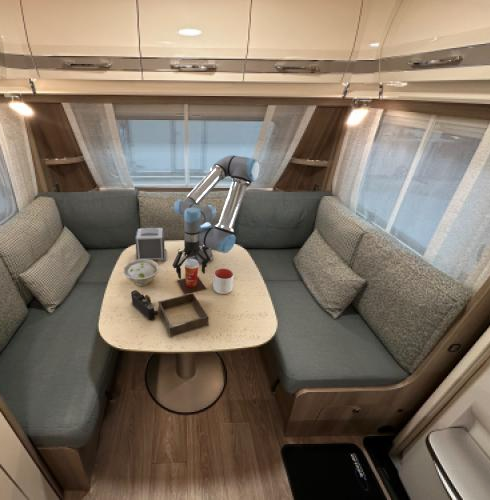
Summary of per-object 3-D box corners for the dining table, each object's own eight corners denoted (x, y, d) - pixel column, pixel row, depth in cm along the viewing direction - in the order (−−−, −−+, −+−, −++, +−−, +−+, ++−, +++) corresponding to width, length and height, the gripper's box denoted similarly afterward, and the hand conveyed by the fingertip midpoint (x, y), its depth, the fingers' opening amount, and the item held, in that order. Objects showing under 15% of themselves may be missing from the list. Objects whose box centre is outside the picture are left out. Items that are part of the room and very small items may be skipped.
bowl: (167, 279, 148) (166, 264, 143) (143, 298, 134) (142, 282, 129) (141, 268, 157) (139, 253, 152) (116, 284, 143) (114, 269, 138)
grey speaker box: (165, 250, 175) (164, 225, 166) (165, 261, 164) (164, 234, 155) (137, 251, 174) (135, 225, 165) (135, 262, 163) (132, 235, 154)
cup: (218, 281, 147) (219, 266, 142) (234, 287, 142) (236, 271, 137) (209, 291, 139) (210, 275, 134) (227, 297, 135) (228, 281, 130)
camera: (161, 315, 124) (160, 301, 120) (149, 322, 120) (148, 308, 116) (141, 297, 134) (140, 284, 130) (130, 303, 130) (128, 290, 126)
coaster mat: (197, 276, 151) (197, 275, 150) (206, 288, 141) (206, 288, 141) (177, 281, 147) (177, 280, 146) (184, 294, 137) (184, 293, 137)
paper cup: (181, 284, 144) (180, 262, 136) (191, 278, 148) (191, 256, 141) (191, 290, 139) (191, 268, 132) (201, 284, 143) (202, 262, 136)
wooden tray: (192, 300, 133) (192, 292, 130) (207, 325, 118) (208, 317, 116) (158, 309, 127) (158, 301, 124) (170, 336, 113) (169, 328, 110)
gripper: (211, 232, 137) (209, 266, 148) (165, 240, 129) (166, 276, 139) (218, 238, 131) (215, 273, 142) (170, 247, 123) (171, 284, 133)
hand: (191, 275), depth 141 cm, fingers open, 13 cm apart
